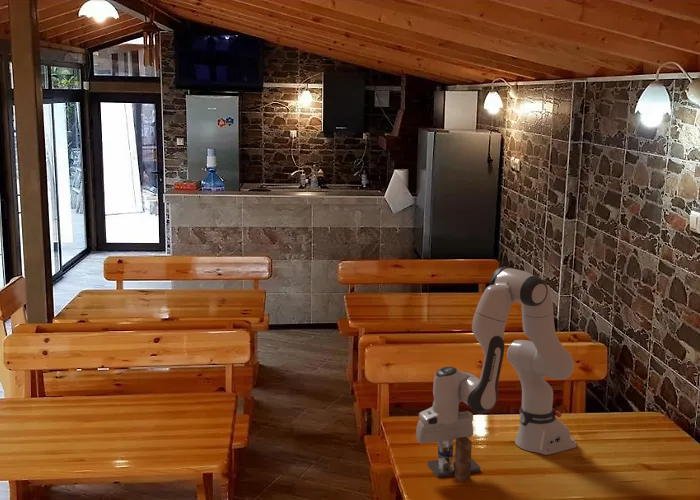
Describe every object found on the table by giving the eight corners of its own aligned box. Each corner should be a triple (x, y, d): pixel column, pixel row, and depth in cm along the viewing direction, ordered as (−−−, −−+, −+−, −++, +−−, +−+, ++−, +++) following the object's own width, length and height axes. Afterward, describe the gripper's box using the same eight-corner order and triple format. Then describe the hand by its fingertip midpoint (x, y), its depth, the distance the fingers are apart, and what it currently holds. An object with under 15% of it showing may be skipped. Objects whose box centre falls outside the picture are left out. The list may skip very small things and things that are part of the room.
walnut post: (465, 474, 261) (466, 436, 258) (470, 480, 257) (471, 441, 254) (454, 475, 260) (455, 438, 257) (459, 481, 256) (460, 443, 253)
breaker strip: (469, 459, 272) (469, 450, 271) (480, 471, 263) (480, 462, 262) (427, 465, 267) (427, 456, 267) (437, 477, 259) (437, 468, 258)
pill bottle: (452, 462, 269) (453, 437, 267) (437, 461, 270) (438, 435, 268) (453, 456, 274) (454, 430, 272) (438, 454, 275) (439, 429, 273)
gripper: (469, 406, 266) (468, 443, 269) (414, 413, 260) (413, 450, 263) (477, 414, 260) (475, 451, 263) (421, 421, 254) (420, 459, 257)
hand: (444, 451), depth 263 cm, fingers closed
